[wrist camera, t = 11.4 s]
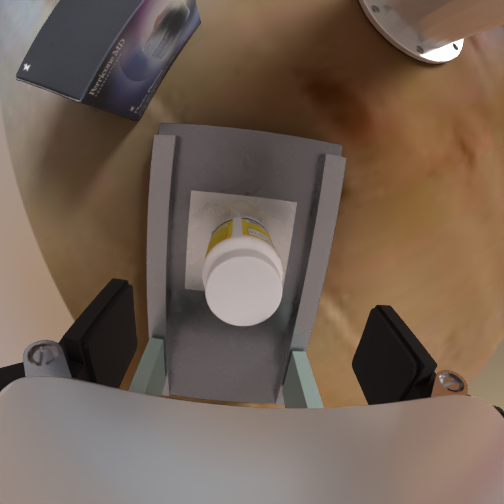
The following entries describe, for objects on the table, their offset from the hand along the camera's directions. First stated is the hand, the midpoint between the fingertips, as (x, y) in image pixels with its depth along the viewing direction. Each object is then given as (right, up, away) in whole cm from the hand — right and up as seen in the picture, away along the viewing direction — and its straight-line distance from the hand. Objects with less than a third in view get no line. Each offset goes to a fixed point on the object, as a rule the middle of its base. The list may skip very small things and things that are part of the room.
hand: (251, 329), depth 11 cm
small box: (-9, +19, +9) cm, 23 cm away
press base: (-2, 0, +15) cm, 15 cm away
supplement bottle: (-1, +3, +12) cm, 13 cm away
